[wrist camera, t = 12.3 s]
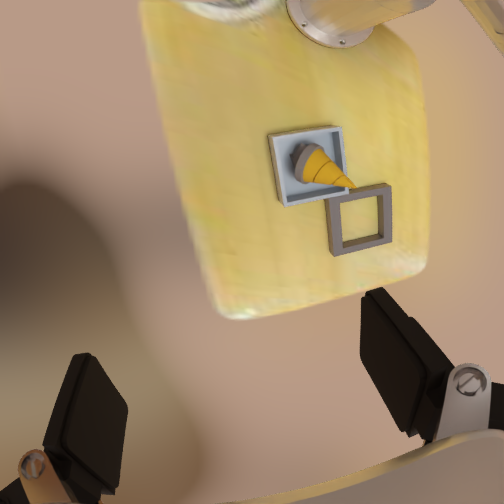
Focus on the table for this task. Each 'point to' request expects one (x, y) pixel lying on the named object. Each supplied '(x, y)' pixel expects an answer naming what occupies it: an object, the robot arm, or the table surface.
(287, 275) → the table surface
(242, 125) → the table surface
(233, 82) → the table surface
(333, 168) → the grooved yellow cone
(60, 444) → the robot arm
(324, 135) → the parts tray
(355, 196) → the holder panel
